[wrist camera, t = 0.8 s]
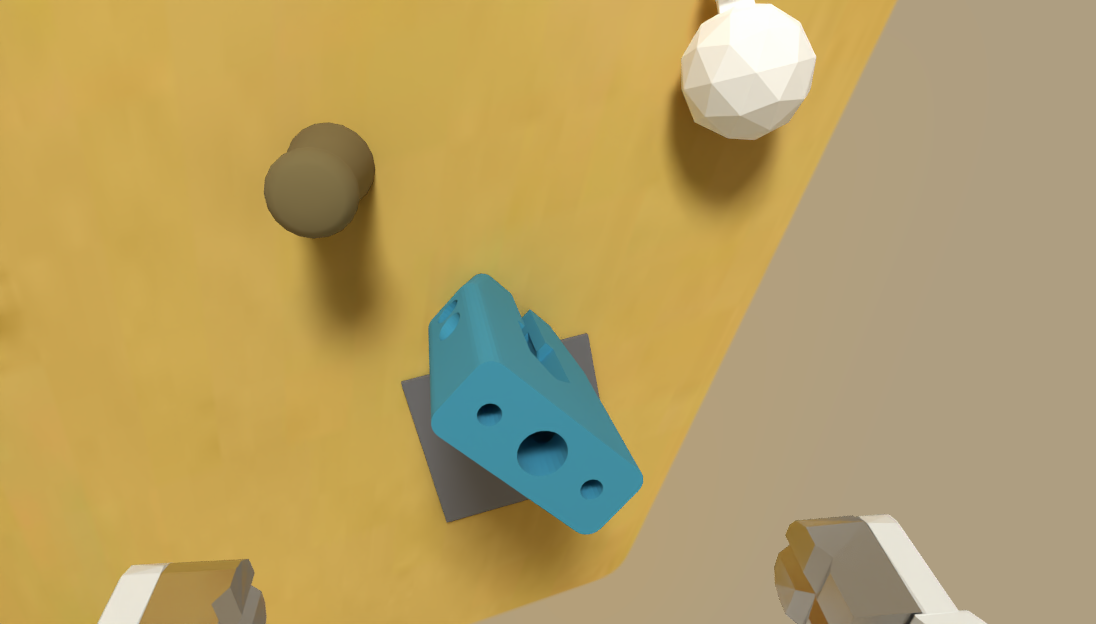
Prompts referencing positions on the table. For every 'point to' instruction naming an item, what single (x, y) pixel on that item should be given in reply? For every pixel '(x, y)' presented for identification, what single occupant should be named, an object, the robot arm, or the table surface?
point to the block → (525, 408)
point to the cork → (319, 180)
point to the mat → (458, 475)
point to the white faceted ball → (747, 70)
